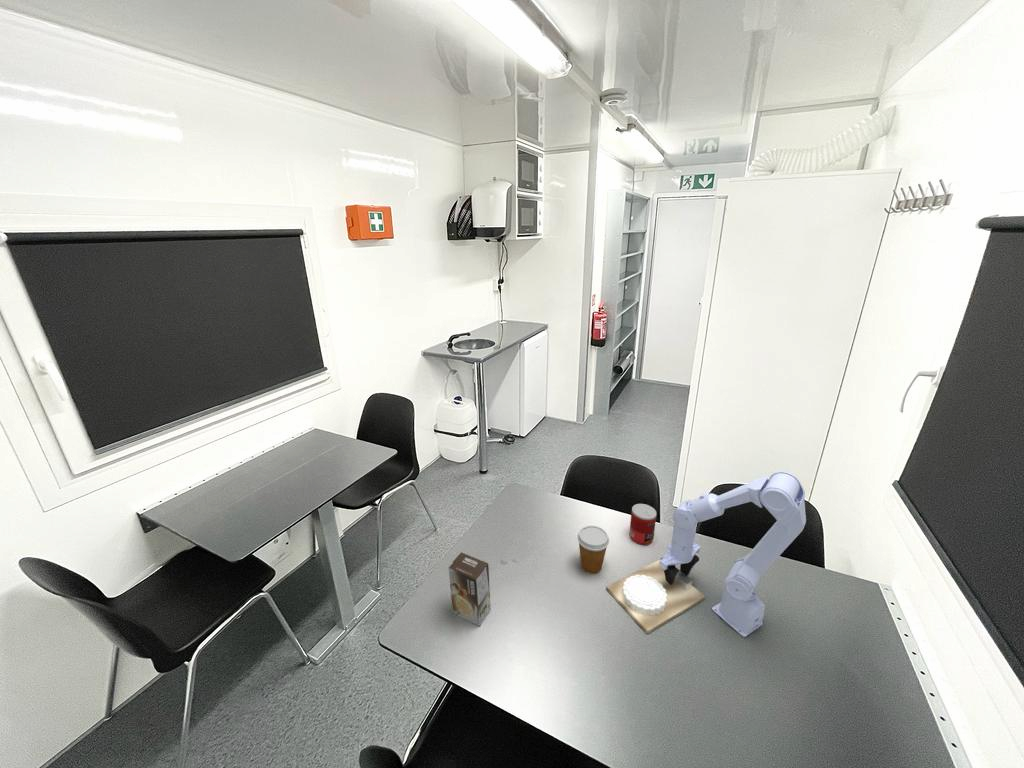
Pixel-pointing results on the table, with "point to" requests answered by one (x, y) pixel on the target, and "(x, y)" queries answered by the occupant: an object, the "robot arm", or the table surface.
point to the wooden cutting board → (678, 593)
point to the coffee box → (470, 588)
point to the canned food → (642, 524)
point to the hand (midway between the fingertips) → (676, 578)
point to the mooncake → (644, 595)
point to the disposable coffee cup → (592, 548)
